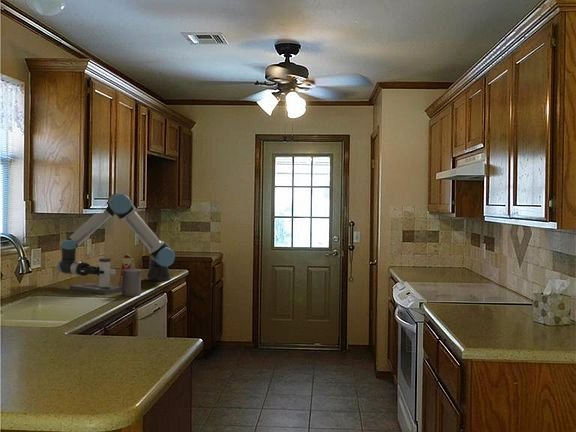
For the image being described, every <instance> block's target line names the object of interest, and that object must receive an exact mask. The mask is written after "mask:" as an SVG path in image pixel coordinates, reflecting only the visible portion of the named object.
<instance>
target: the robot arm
mask: <svg viewBox="0 0 576 432" xmlns="http://www.w3.org/2000/svg"><path fill="white" fill-rule="evenodd" d="M107 199H108V202H107V204H108V207H107V209H106V210H105V211H104V213H96V212H95V213H96V214H95V213H94V214H92V216H91V217H89V218H88V219H87V220H86V221H85V222H84V223H83V224H82V225H81V226H80V227H79V228H78V229H77V230H75V231H74V232H73V233H72V234H71V235H70V236H69V237H68V238H66V239H64V240H62V242H61V243H60V247H59V248H60V249H59V250H60V252H61V260H59V262H58V263H57V267H56V268H57V271H58V272H59V273H61V274H65V275H67V274H68V275H75V276H83V277H86V276H88V275H97V276H99V274H101V275H110V276H111V275H116V273H117V271H116V269H114V268H110V270H102V269H100V266H98V265H97V266H93V265H90V263H88V262H84V261H76V260H77V259H76V251H77V248H79V246H80V245H81V244H83V242H85V241H86V240H87V239H88V238H89V237H90V236H91V235H92V234H94V232H95V231H97V229H99V228H100V227H101V226H102V225H103V224H104V223H105V222H106V221H108V220H109V218H113V217H114V216H117V218H118V219H119V220H122V221H124V222H125V223H126V224H127V226H128V227H129V228H130V229H131V231H133V233H134V234H135V235H136V236H137V238H138V239H139V240H140V241H141V242H142V243H143V244H144V246H145V248H146V249H148V254H149V267H148V270H147V273H146V280H147V281H152V282H166V281H170V280H171V274H170V270H169V266H171V265H173V263H174V262H175V258H176V254H175V252H174V250H173V249H171V248H170V247H169V244H168V243H166V242H165V241H164V240H160V239H159V238H158V236H157V235H156V234H155V233H154V231H153V230H152V229H151V228H150V227H149V226H148V225H147V223H146V222H145V221H144V219H143V218H142V217H141V216H140V215H139V214H138V212H137V211H136V206H135V205H134V204H133V202H131V198H130V197H129V196H128V195H126V194H124V193H113V194H111V195H110V196H108V198H107ZM99 269H100V271H99Z"/></svg>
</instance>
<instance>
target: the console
mask: <svg viewBox="0 0 576 432" xmlns="http://www.w3.org/2000/svg"><path fill="white" fill-rule="evenodd" d="M71 289H72V291H78V292H87V293H92V292H93V293H94V294H102V295H108V294H113V293H114V294H115V293H117V292H118V293H119V292H122V287H118V285H110V286H109V287H99V283H96V282H95V283H94V282H85V283H84V282H83V283H79V284H74V285H73V284H72V285H69V290H71ZM93 293H92V294H93Z"/></svg>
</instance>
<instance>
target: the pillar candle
mask: <svg viewBox="0 0 576 432" xmlns="http://www.w3.org/2000/svg"><path fill="white" fill-rule="evenodd" d="M141 283H142V269H139V268H135V269H124V270H123V284H122V291H121V295H122V296H123V297H139V296H140V295H141V289H142V286H141V285H142V284H141Z"/></svg>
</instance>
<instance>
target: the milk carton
mask: <svg viewBox="0 0 576 432" xmlns="http://www.w3.org/2000/svg"><path fill="white" fill-rule="evenodd" d="M135 264H136V263H135V258H133V257H132V256H131V254H129V253H128V252H126V255H124V256H123V257H122V262H121V266H120V270H119V271H120V272H119V278H118V283H117V286H118V287H122V284H123V270H124V269H136V265H135Z"/></svg>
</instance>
